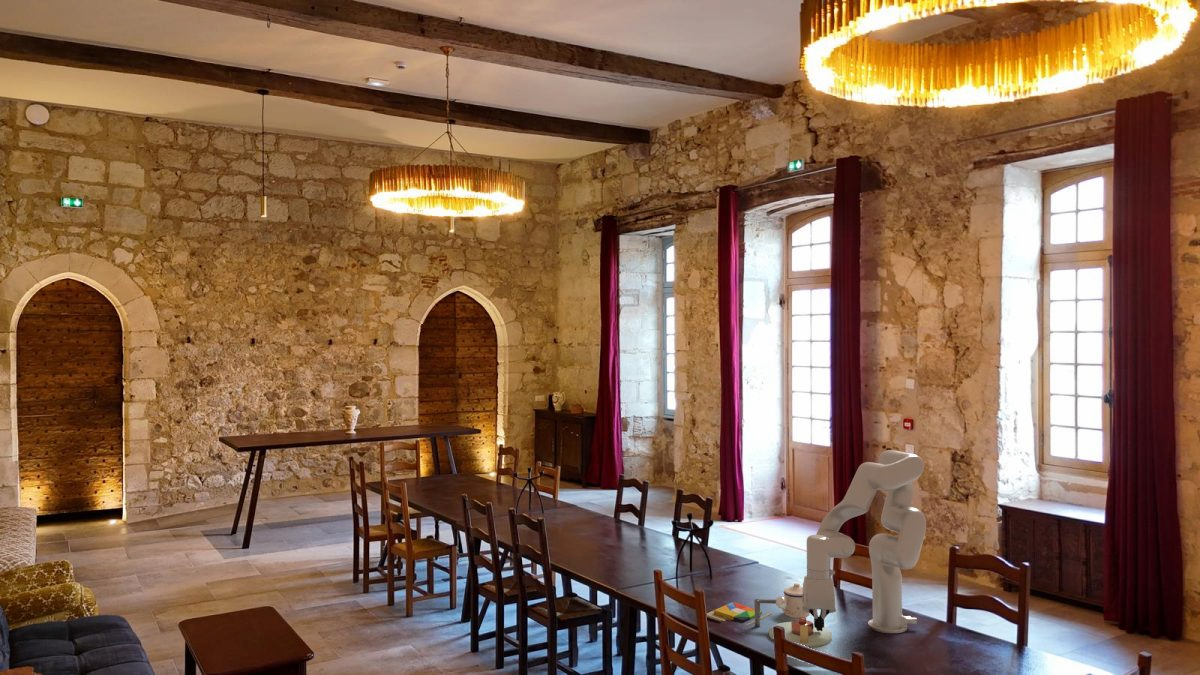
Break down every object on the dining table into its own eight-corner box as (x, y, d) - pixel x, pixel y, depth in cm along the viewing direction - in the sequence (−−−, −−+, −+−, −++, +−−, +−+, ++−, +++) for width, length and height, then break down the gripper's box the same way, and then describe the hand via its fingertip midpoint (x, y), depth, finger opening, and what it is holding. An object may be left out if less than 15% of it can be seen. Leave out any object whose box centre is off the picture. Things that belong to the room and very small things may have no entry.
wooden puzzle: (747, 631, 292) (747, 621, 292) (700, 619, 305) (700, 609, 305) (773, 618, 305) (773, 608, 305) (727, 607, 318) (727, 598, 318)
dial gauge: (785, 627, 294) (785, 594, 294) (787, 632, 289) (787, 598, 289) (749, 626, 295) (749, 593, 295) (750, 631, 290) (750, 598, 290)
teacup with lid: (797, 610, 311) (796, 578, 311) (815, 617, 304) (815, 584, 304) (772, 616, 305) (772, 584, 305) (790, 624, 297) (790, 590, 297)
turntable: (826, 626, 292) (825, 607, 292) (837, 648, 271) (836, 628, 271) (766, 625, 293) (765, 606, 293) (772, 647, 273) (772, 626, 273)
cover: (810, 628, 286) (810, 614, 286) (815, 636, 279) (815, 621, 279) (789, 628, 286) (789, 615, 286) (794, 636, 279) (794, 622, 279)
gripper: (839, 570, 285) (840, 626, 285) (793, 570, 286) (794, 625, 286) (844, 577, 277) (844, 634, 278) (797, 576, 279) (797, 633, 279)
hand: (819, 629), depth 282 cm, fingers closed
